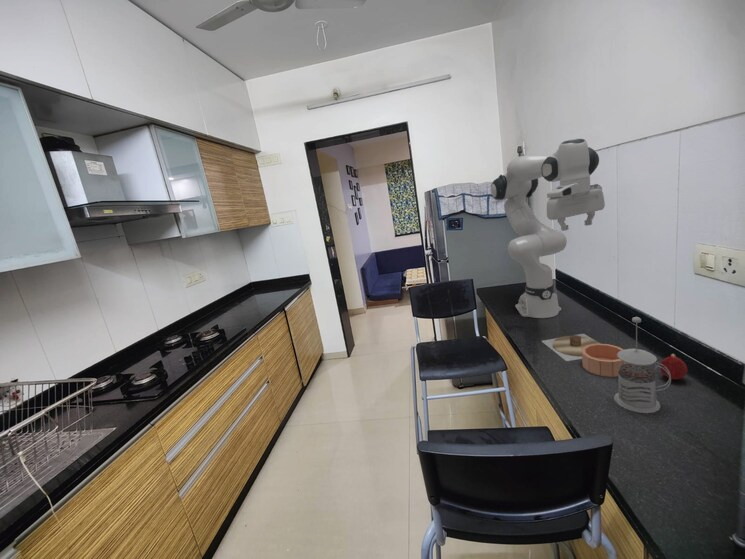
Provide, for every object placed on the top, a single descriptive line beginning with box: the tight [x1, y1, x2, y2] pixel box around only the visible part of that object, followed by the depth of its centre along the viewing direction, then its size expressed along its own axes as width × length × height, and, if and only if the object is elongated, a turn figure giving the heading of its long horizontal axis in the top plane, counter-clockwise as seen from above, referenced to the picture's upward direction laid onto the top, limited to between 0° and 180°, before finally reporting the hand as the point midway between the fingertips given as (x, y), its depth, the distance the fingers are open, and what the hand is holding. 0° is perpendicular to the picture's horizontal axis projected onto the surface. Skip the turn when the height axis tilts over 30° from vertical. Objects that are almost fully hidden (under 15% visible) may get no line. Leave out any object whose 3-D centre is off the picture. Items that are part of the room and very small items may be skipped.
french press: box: [613, 316, 672, 414], centre depth 83 cm, size 10×12×25 cm
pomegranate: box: [659, 353, 688, 380], centre depth 91 cm, size 6×6×8 cm
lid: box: [553, 334, 600, 356], centre depth 117 cm, size 15×15×4 cm
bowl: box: [581, 343, 628, 378], centre depth 102 cm, size 12×12×6 cm
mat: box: [541, 333, 601, 362], centre depth 118 cm, size 17×17×1 cm
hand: (576, 227), depth 112 cm, fingers open, 8 cm apart
